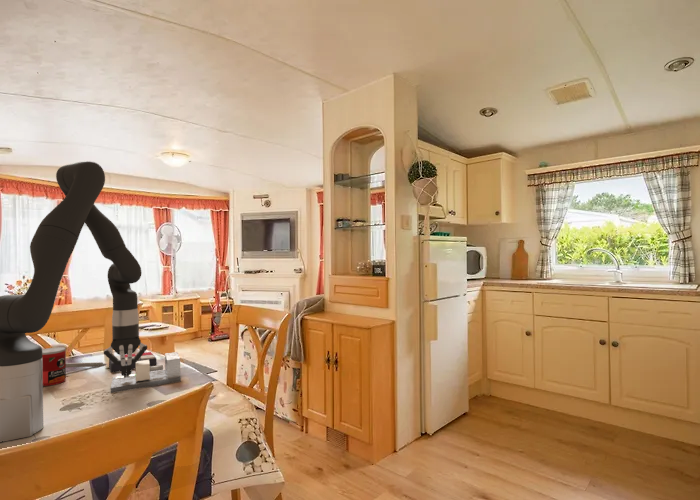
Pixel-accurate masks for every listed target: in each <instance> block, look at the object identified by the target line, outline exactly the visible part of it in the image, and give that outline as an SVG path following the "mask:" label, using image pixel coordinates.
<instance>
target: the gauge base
mask: <svg viewBox="0 0 700 500" xmlns="http://www.w3.org/2000/svg"><path fill="white" fill-rule="evenodd" d="M164 361H165V362H164V367H165V369H163V370H158V371H151V372H150V379H148V380H142V381H136V373H133V374H132V373H131V374H130V375H129V377H127V375H126V377H124V376H122V375H120V376H114V377H112V379H111V384H110V393H111V394H112V393H119V392H124V391H125V392H126V391H129V390H130V391H131V390H137V389H143V388H149V387H156V386H162V385H167V384H168V385H169V384H173V383H180V382H182V377H181V356H180V354H179V352H178V351H175V352H166V353H164Z"/></svg>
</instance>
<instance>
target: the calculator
mask: <svg viewBox="0 0 700 500" xmlns="http://www.w3.org/2000/svg"><path fill="white" fill-rule="evenodd" d="M137 353H138V352H137ZM137 353H132V358H134V357H135V356H136V355H137ZM114 356H115V357H116V358H117V359H118V360H121V359H120V355H114ZM127 358H128V354H125V361H126V364H127ZM143 360H149V363H150V367H151V366H154V365H155V366H157V357H156V356H155V355H154V353H153V352H151V351H148V352H147V351H145V352H144V353H143V355H142V356H141V357H140V358H139V360H138V361H143ZM108 368H109V372H110V373H113V374H114V373H117V372H118V373H119V372H121V366H120V365H115V364H114V363H113V362H112V361H111V360H110V359H109V358H108ZM131 370H136V362H134V363H132V365H131Z"/></svg>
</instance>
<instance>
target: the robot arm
mask: <svg viewBox="0 0 700 500" xmlns="http://www.w3.org/2000/svg"><path fill="white" fill-rule="evenodd" d="M55 179H56V183H57V185H58V187H59V188H60V190H61V191H62V193H63V194H64V196H65V197H64V198H63V199H62V201H60V202H59V203H58V204H57V205H56V206H55V207H54V208H53V209H51V211H50V212H49V213H48V214H47V215H46V216H44V218H43V219H42V220H41V222H40V224H39V225H38V226H37V228H36V231H35V233H34V235H33V237H32V239H31V241H30V245H29V251H30V257H31V261H32V264H33V276H32V280H31V282H30V284H29V286H28V289H27V290H26V292H25V293H24V294H5V295H0V443H2V441H3V442H7V441H12V440H17V439H23V438H29V437H31V436H33V434H35V433H38V432H39V431H41V430H42V429H43V428H44V426H45V425H44V386H43V361H42V349H43V348H42V347H41V346H40V345H39V344H36V343H35V342H33V341H31V340H30V339H29V338H28V337H27V335H26V334H33V333H37V332H39V331H40V330H41V329H43V328H44V327H45V326H46V324H47V322H48V321H49V319H50V317H51V315H52V311H53V309H54V305H55V301H56V298H57V295H58V290H59V288H60V284H61V281H62V279H63V276H64V273H65V271H66V267H67V265H68V262H69V260H70V258H71V255H72V253H73V252H74V250H75V247H76V246H77V242H78V240H79V237H80V235H81V232H82V230H83V227H84V225H86V227H87V228H88V230H89V231H90V233H91V235H92V237H93V239H94V241H95V243H96V245H97V247H98V249H99V251H100V253H101V255H102V257H103V258H105V259H107V260H109V261H111V263H112V264H111V265H110V266H109V267H108V270H107V282H108V286H109V289H110V293H111V295H112V316H111V317H112V318H111V325H112V326H111V328H112V333H111V335H112V338H111V339H112V340H111V343H110V346H109V347H108V348H105V349H104V350H103V354H104V355H105V356H106V357H107V358H108V360H109V359H110V360H111V361H112V362H113V363H114V364H115V365H120V366H121V371H120V372H121V373H120V374H121V375H120V376H124V377H126V375H127V377H129V375H132V369H131V365H132V363H134V362H137V361H138V360H139V358H140V357H141V356H142V355H143V353H146V352H147V350H148V345H147V344H144V343H142V342H141V339H140V330H139V329H140V324H139V323H140V319H139V310H138V309H139V308H138V294H137V292H136V291H135V290H132V287H131V284H135V283H137V282H139V280H140V279H141V277H142V267H141V265H140V263H139V261H138V260H137V259H136V258H135V256H134V255H133V253H132V252H131V251H130V250H129V249H128V247H127V246H126V244H125V240H124V238H123V237H122V235H121V233H120V231H119V228H118V227H117V226H116V225H115V224H114V223H113V221H112V220H111V219H109V218H108V217H107V216H106V215H105V213H102V212H101V211H100V210H99V208H98V207H97V206H96V205H95V202H96V201H97V199H98V197H99V196H100V194H101V192H102V190H103V189H104V186H105V183H106V173H105V170H104V169H103V167H102V166H101V165H100V164H99V163H97V162H95V161H91V160H89V161H88V160H87V161H85V160H84V161H79V162H73V163H70V164H69V163H68V164H65V165H61V167H59V168H58V169H57V171H56V173H55ZM137 349H139V351H138V352H137V355H136V356H135V357H134V358H132V354H135V352H136V350H137ZM114 352H115V353H116V354H117V355H118V356H120V359H121V360H118V359H117V358H116V357H115V356H116V355H114ZM126 354H128V358H127V364H126V361H125V355H126Z"/></svg>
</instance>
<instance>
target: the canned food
mask: <svg viewBox="0 0 700 500" xmlns="http://www.w3.org/2000/svg"><path fill="white" fill-rule="evenodd" d="M66 352H67V351H66V347H63V346H62V347H61V346H59V347H58V346H57V347H47V348H42V361H43V387H48V386H53V385H59V384H61V383H64V382H65V381H66V378H67V370H66V369H67V368H66V363H67V360H66V359H67V357H66V356H67V353H66Z"/></svg>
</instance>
